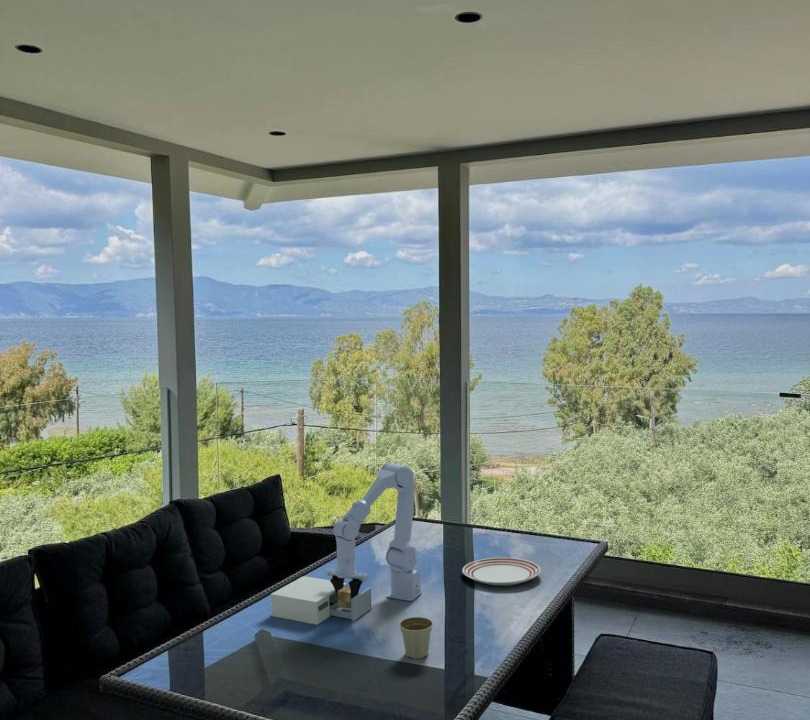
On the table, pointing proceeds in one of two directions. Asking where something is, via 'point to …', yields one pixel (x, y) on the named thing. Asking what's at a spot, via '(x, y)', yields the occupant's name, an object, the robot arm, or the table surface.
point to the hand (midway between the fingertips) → (347, 600)
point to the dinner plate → (501, 571)
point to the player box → (304, 600)
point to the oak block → (344, 598)
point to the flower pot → (416, 636)
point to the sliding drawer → (354, 606)
